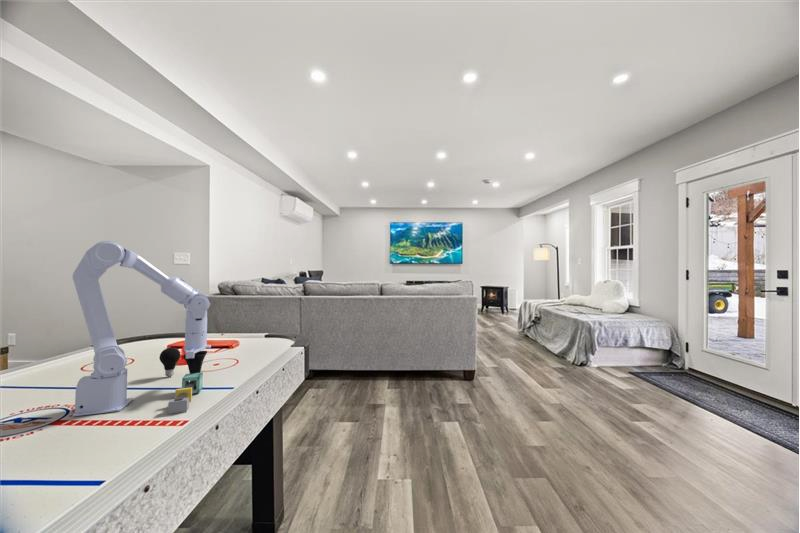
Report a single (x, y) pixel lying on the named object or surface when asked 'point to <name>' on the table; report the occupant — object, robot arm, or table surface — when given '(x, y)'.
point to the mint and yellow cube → (190, 378)
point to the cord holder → (181, 399)
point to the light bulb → (169, 360)
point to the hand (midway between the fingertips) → (195, 376)
